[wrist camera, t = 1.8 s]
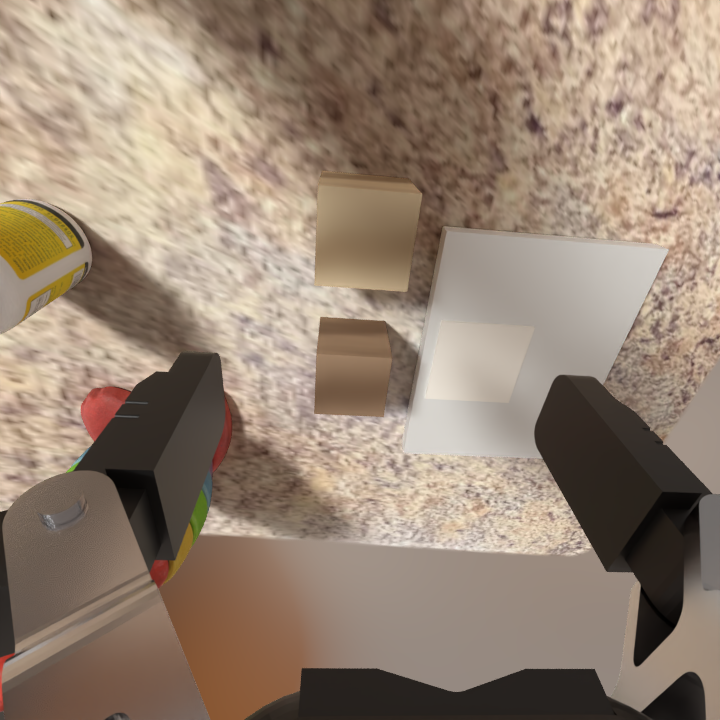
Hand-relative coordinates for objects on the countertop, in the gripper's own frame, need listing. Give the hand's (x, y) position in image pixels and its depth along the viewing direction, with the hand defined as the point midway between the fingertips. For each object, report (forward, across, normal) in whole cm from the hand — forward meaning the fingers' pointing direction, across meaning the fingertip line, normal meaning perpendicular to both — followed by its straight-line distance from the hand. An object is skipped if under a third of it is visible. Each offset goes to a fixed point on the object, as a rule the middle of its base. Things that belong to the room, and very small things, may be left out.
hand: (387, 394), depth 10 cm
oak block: (+18, 0, 0) cm, 18 cm away
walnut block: (+18, 0, +9) cm, 20 cm away
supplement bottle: (+18, +19, +3) cm, 26 cm away
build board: (+18, -12, +9) cm, 23 cm away
